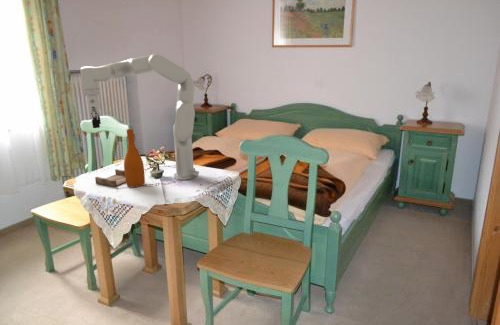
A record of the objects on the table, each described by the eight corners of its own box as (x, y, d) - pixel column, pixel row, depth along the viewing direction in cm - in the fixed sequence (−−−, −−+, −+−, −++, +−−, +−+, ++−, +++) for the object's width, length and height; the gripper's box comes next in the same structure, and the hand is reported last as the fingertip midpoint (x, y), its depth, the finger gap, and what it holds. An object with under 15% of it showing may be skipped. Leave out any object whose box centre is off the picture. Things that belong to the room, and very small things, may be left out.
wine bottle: (140, 188, 199) (134, 131, 190) (122, 187, 201) (115, 130, 192) (148, 182, 208) (143, 127, 199) (131, 181, 210) (125, 126, 201)
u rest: (136, 178, 214) (135, 172, 213) (115, 187, 201) (114, 181, 200) (117, 175, 220) (116, 169, 219) (95, 183, 207) (95, 177, 206)
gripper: (99, 93, 186) (104, 128, 191) (100, 89, 202) (105, 122, 207) (82, 94, 184) (87, 130, 189) (85, 90, 199) (90, 123, 205)
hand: (97, 125), depth 198 cm, fingers open, 9 cm apart
